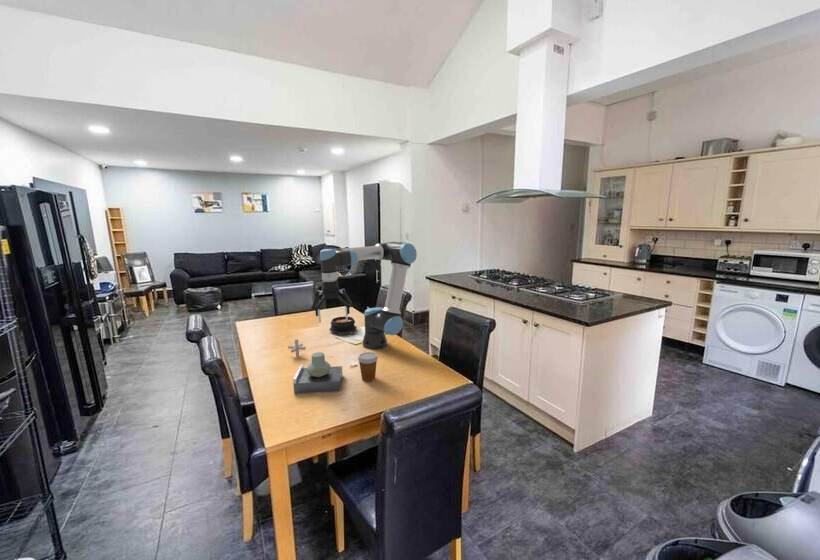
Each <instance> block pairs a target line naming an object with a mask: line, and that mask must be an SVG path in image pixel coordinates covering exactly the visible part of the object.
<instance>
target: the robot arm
mask: <svg viewBox="0 0 820 560" xmlns="http://www.w3.org/2000/svg"><path fill="white" fill-rule="evenodd" d="M417 252H418V251H417V249H416V247H415V246H414V245H413V244H412V243H410V242H406V241H405V242H404V241H403V242H401V241H398V242H397V241H388V242H383V243H376V244H375V245H371V246H369V245H368V246H359V247H345V248H324V249H321V250H320V251H319V260H320V268H321V280H322V290H320V289H318V290H316V296H315V299H314V300H313V304H312V306H311V308H310V309H311V310H314V311H315V317H317V319H318V324H321V322H322V317H321V309H319V308H320V307H321V306H322V305H323V303H324V302H325V301H326V300H327V299H328V300H331V299H333V300H334V299H337V300H338V301H339V302H340V303H341V304H342V305H343V307H345V317H346V321H348V317H349V314H350V313H351V311H350V308H353V303H352V300H351V299H350V297H349V295H348V294H347V293H346V289H345V288H341V289H340V288H339V281H338V268H340V267H347V266H352V265H356V264H357V263H358V261H367V260H378V261H382V260H383V261H390V264H391V266H392V269H391V273H390V274H391V275H390V279H389V283H388V288H387V293H386V294H387V295H386V299H385V303H384V307H381V306H379V307H376V306H375V307H371V308H370V307H369V308H367V309H364V315H363V316H364V336H363V338H362V339H363V340H362V346H363V347H364V348H366V349H369V350H371V349H372V350H376V349H377V350H378V349H383V348H384V347H387V345H388V340H387V337H386V335H389V336H396V335H397V334H399V333H400V332H401V331H402V328H403V325H404V320H403V318H402V317H401V315H402V312H401V310H400V306H401V302H402V297H403V292H404V288H405V287H404V286H405V282H406V277H407V271H408V269H410V268H411V264H413V263H414V262H415V261H416V259H417V256H418V255H417V254H418V253H417ZM340 293H341V294H342V295H343V297H344V298H345V300H344V299H343V298H342V297H341V296H340V295H339V294H340ZM322 295H323V297H322V299H321V300H320V301H319V302H318V300H319V298H320V296H322ZM317 302H318V304H317Z"/></svg>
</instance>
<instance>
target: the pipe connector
mask: <svg viewBox="0 0 820 560" xmlns="http://www.w3.org/2000/svg"><path fill="white" fill-rule="evenodd" d="M306 348H307V347H306V346H304V344H303V343H302V342H299V338H295V339H294V345H288V346H287V349H289V350H290V352H291V353H292V354H293V353H295V357H296V356H298V357H300V351H305V350H306Z"/></svg>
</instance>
